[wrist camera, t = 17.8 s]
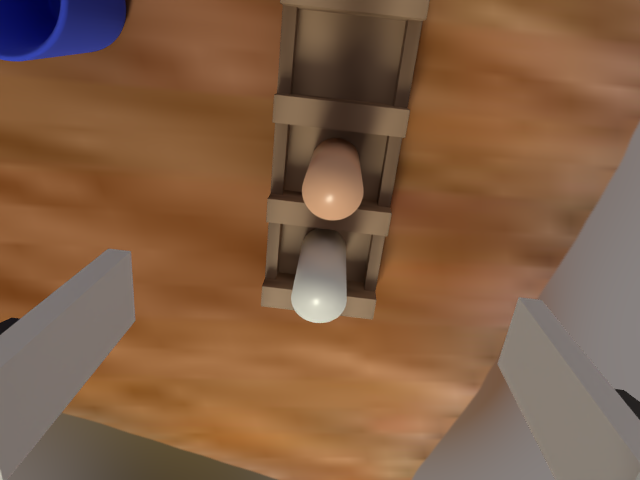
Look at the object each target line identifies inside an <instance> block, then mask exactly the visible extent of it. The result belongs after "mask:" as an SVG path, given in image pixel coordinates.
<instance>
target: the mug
mask: <svg viewBox="0 0 640 480" xmlns="http://www.w3.org/2000/svg"><path fill="white" fill-rule="evenodd" d="M125 18H126V3H125V0H0V59H2V60H7V61H26V60H34V59H42V58H49V57H57V56H65V55H72V54H80V53H88V52H94V51H98V50H101V49H103V48H105V47H107V46H109V45H110V44H111V43H113V42H114V41H115V40H116V39H117V37H118V36H119V35H120V33H121V31H122V29H123V26H124V23H125Z"/></svg>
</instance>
